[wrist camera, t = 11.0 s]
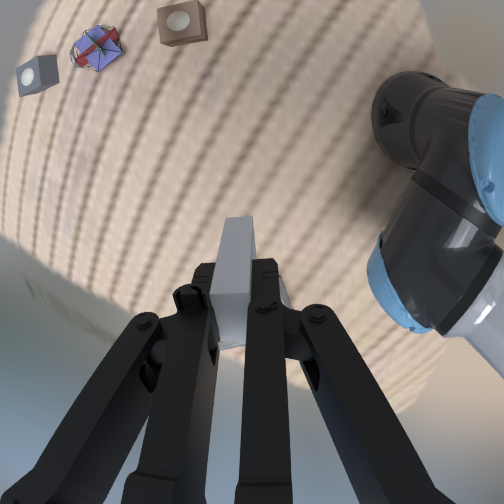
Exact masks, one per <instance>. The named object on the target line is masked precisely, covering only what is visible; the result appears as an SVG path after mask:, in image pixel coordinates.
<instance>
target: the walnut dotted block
mask: <svg viewBox="0 0 504 504" xmlns="http://www.w3.org/2000/svg"><path fill="white" fill-rule="evenodd" d="M157 13H158V24H159V34H160V43H162V44H165V45H167V46H170V47H174V46H178V45H183V44H189V43H194V42H200V41H206V40H208V38H207V29H206V19H205V10H204V8H203V6H202V5H201V4H200V3H199V1H198V0H195V1H189V2H184V3H180V4H175V5H171V6H166V7H162V8H158V9H157Z"/></svg>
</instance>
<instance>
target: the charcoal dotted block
mask: <svg viewBox="0 0 504 504" xmlns="http://www.w3.org/2000/svg"><path fill="white" fill-rule="evenodd" d="M16 74H17V83H18V91H19V97H22V96H26V95H31V94H36V93H39V92H41V91H43V90H45V89H47V88H49V87H51V86H54V85H56V84H58V83H59V75H58V67H57V58H56V55H51V56H37V57H35V58H33V59H31V60H30V61H28V62H26V63H25V64H23V65H21V66H20V67H18V68H17V69H16Z"/></svg>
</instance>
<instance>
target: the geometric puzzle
mask: <svg viewBox="0 0 504 504" xmlns="http://www.w3.org/2000/svg"><path fill="white" fill-rule="evenodd" d="M101 26H103V25H101ZM101 26H100V27H101ZM100 27H99V25H97V26H95V27H94V28H93V29H92V30H90V31H89V30H88V29H87V31H89V32H88V33H86V32H85V31H86V30H84V32H85V33H86V34H85V35H84V36H82V38H80V39H79V40H78V39H77V40H78V41H77V42H76V43H74V44H73V47H72V49H71V51H70V57H71V61H72V63H73V65H74V66H75V67H80V68H84V67H83V66H84V65H85V66H86V64H87V63H88V62H90V64H91V65H92V66H93V67H94V68H95V69H96V70H97V71H95V72H97V73H98V72H99V71H100V70H102V69H103V68H104V67H105V66H106V65H108V64H110V62H111V61H113V60H114V59H115V58H116V57H118V56H119V55H120V54H121V53H123V52H122V51H121V50H122V48H121V50H120V49H119V48H118V47H117V46H116V45H117V43H116V45H115V44H114V41H115V40H116V39H118V40H120V39H119V38H120V37H119V36H118V33H117V31H116V28H115V27H114V28H113V29H112V30H110V31H108V30H107V31H108V33H106V34H105V33H104V31H103V30H102V29H104V28H102V27H101V28H100ZM109 28H112V26H110V27H109ZM105 30H106V29H105ZM83 34H84V33H83ZM81 35H82V34H81ZM117 42H118V41H117ZM119 43H120V42H119ZM75 46H76V47H77V48H78V50H79V51H80V52H81V53H82V54H80V55H79V56H78V57H77V58H76V59H75V57H76V56H75V57H74V47H75ZM120 47H121V43H120ZM75 49H76V48H75ZM78 50H77V51H78ZM77 51H76V52H77ZM76 54H77V53H76ZM77 55H78V54H77ZM87 67H89V66H87ZM89 68H90V67H89ZM88 70H89V69H88Z"/></svg>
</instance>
